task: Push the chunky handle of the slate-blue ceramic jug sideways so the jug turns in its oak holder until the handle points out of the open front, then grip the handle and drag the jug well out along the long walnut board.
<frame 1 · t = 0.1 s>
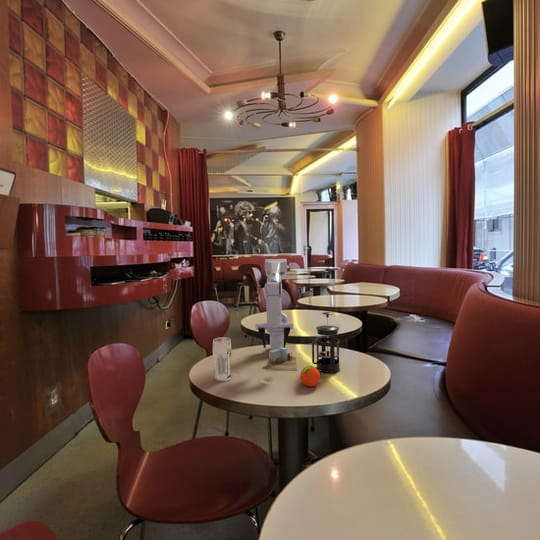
hand: (274, 347, 142), 10 cm above the table, tool pointing down, fingers open, 7 cm apart
french press: (326, 370, 144), on the table
beer glass: (223, 379, 137), on the table
cradle: (281, 362, 155), on the table
jug: (281, 360, 155), point 1 cm above the table, touching cradle
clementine: (309, 386, 127), on the table
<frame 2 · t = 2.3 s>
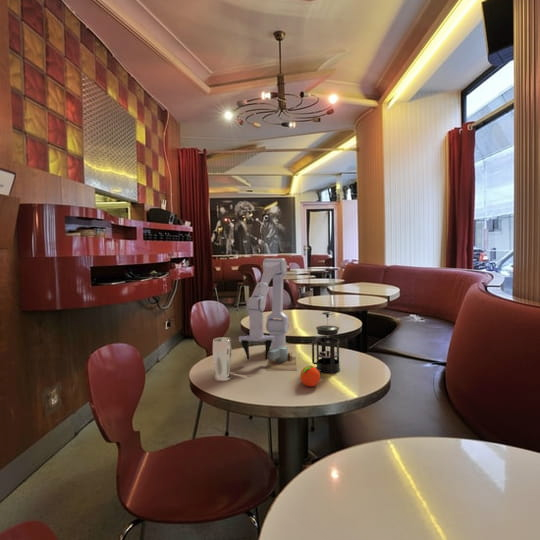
hand: (257, 358, 149), 3 cm above the table, tool pointing down, fingers open, 7 cm apart
jug: (281, 360, 155), point 1 cm above the table, touching cradle, gripper
everything else where it was.
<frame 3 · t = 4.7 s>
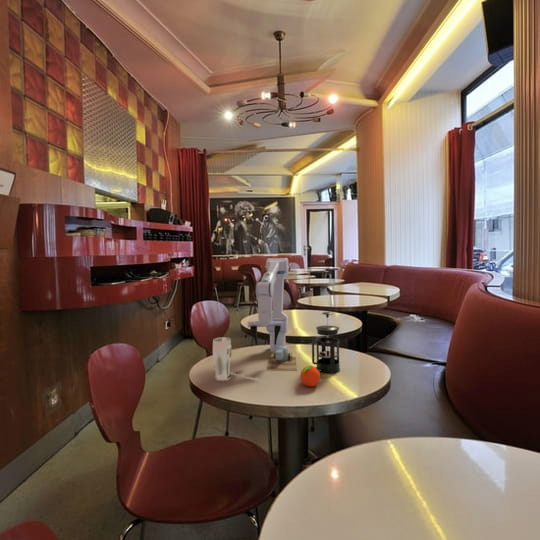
hand: (265, 344, 149), 9 cm above the table, tool pointing down, fingers open, 7 cm apart
jug: (282, 359, 155), point 1 cm above the table, touching cradle
everything else where it was.
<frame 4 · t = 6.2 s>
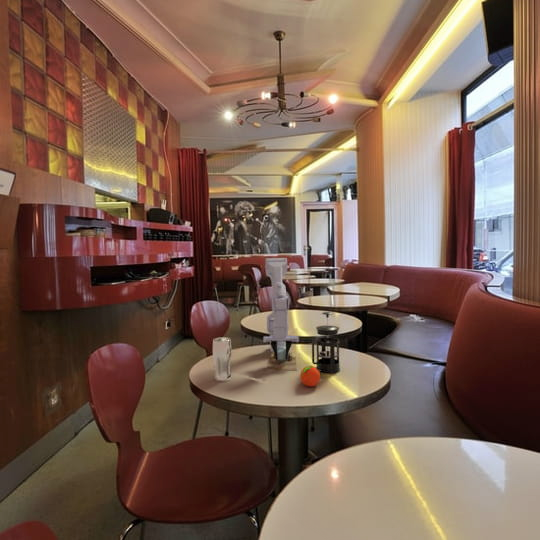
hand: (281, 359, 149), 3 cm above the table, tool pointing down, fingers open, 3 cm apart
jug: (282, 359, 155), point 1 cm above the table, touching cradle, gripper
everything else where it was.
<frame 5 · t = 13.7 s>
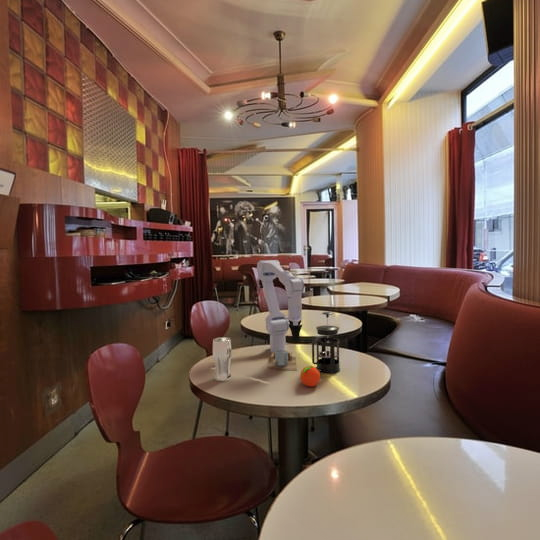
hand: (295, 338, 155), 10 cm above the table, tool pointing down, fingers open, 7 cm apart
jug: (281, 365, 149), point 1 cm above the table, touching cradle
everything else where it was.
at the end: jug inside the target area on the cradle (1.8 cm from its centre), point 0.8 cm above the cradle's base; jug tilted 0°; the gripper is holding nothing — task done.
